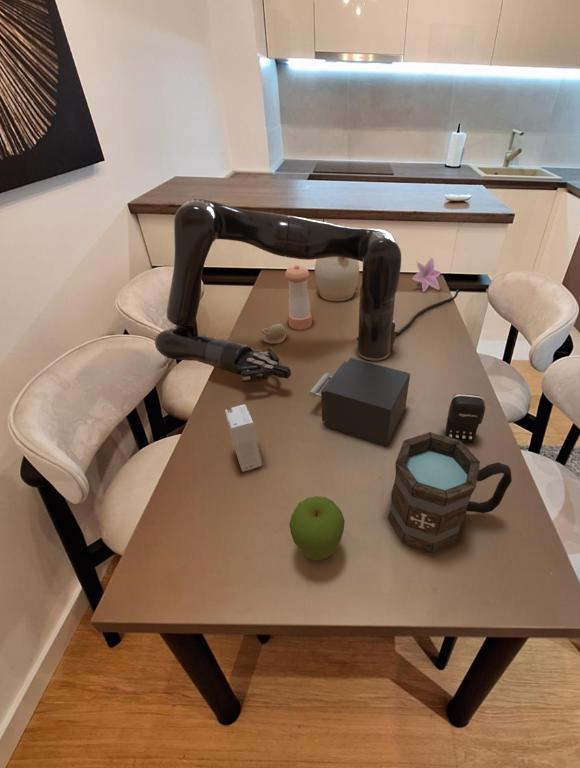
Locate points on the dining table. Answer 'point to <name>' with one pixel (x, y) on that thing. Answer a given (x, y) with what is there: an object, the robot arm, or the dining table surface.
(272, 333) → the decorative ornament
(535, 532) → the dining table surface
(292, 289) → the salt shaker
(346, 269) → the jug
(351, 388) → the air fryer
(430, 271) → the lily
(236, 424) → the cosmetic box
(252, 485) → the dining table surface
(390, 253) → the robot arm
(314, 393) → the drawer
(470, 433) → the battery charger
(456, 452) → the mug
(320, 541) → the apple
